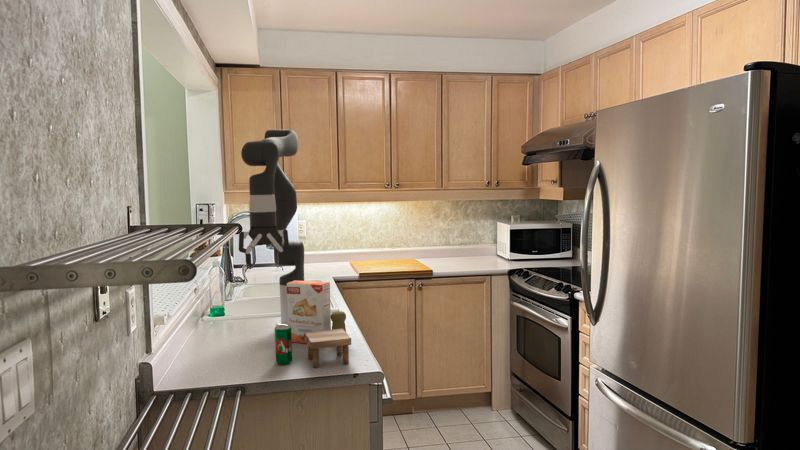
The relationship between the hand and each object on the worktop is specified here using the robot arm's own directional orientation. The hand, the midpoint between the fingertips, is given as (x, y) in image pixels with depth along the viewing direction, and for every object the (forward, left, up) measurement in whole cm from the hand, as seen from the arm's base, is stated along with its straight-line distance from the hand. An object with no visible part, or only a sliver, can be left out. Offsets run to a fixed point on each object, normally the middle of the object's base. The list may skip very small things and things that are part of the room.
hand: (264, 265), depth 160 cm
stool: (+1, +18, -30) cm, 35 cm away
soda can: (-2, +5, -31) cm, 31 cm away
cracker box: (-22, +16, -31) cm, 41 cm away
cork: (-16, +25, -31) cm, 43 cm away
